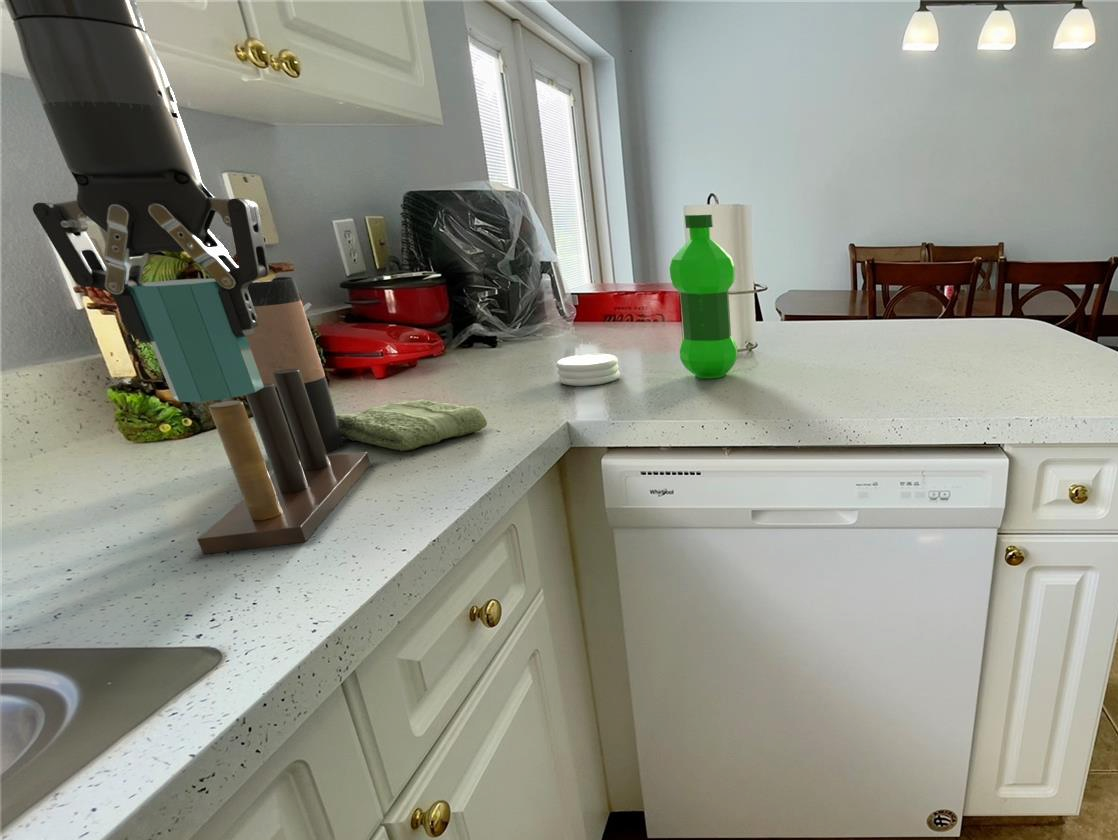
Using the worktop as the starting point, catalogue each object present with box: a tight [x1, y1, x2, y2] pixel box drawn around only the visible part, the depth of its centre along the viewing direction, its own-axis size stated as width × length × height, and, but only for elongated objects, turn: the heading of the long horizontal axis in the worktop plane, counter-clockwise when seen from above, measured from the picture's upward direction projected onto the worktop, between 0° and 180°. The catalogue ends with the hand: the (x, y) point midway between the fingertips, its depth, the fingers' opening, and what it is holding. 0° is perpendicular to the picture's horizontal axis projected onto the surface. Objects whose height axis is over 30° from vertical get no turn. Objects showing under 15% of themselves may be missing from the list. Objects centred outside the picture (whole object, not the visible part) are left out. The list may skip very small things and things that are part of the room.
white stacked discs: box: [555, 353, 621, 387], centre depth 119 cm, size 10×10×4 cm
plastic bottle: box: [669, 214, 739, 379], centre depth 116 cm, size 10×10×25 cm
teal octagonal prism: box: [128, 277, 264, 403], centre depth 59 cm, size 6×6×9 cm
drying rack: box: [196, 369, 372, 555], centre depth 70 cm, size 8×22×12 cm, turn 15°
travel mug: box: [247, 276, 344, 458], centre depth 85 cm, size 8×8×20 cm
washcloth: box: [336, 399, 488, 452], centre depth 93 cm, size 13×18×3 cm
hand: (199, 337), depth 59 cm, fingers closed on teal octagonal prism, 6 cm apart
